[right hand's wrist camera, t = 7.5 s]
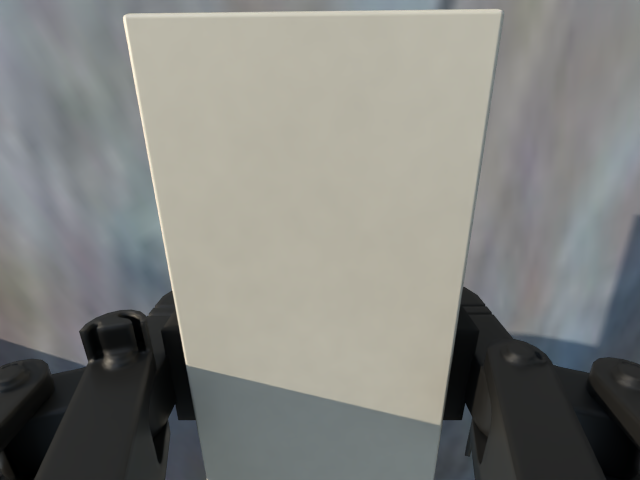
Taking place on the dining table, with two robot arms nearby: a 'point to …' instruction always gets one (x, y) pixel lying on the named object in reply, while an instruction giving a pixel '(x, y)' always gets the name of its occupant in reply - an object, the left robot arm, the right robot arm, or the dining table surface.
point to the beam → (316, 225)
